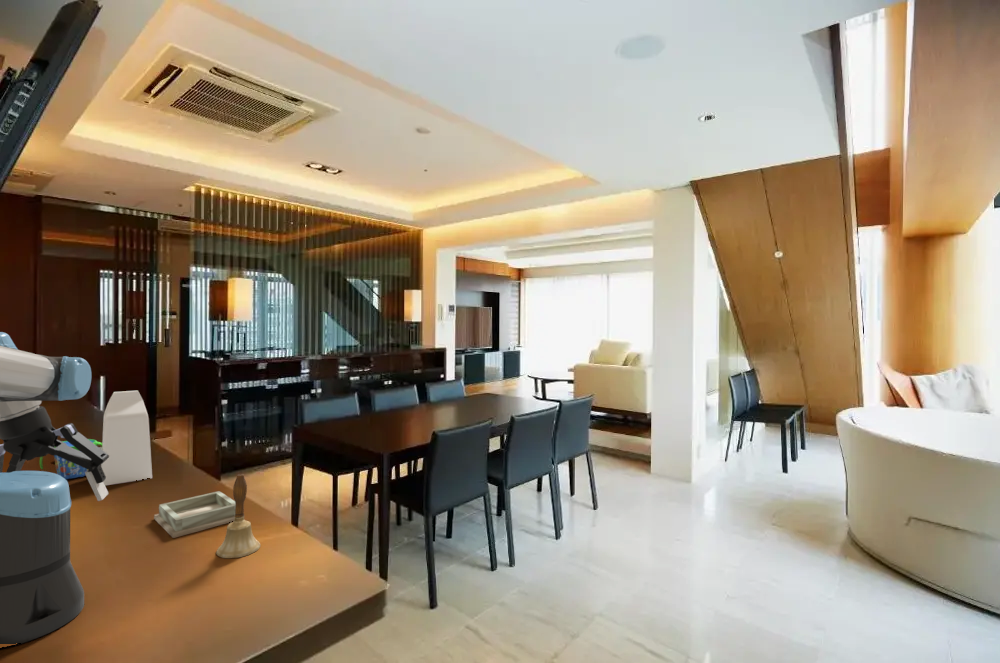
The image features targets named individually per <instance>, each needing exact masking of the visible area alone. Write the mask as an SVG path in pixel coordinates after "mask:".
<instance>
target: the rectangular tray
mask: <svg viewBox="0 0 1000 663" xmlns="http://www.w3.org/2000/svg"><path fill="white" fill-rule="evenodd" d="M235 509H236V504H235V500H234V499H232V498H231V497H230V496H228V495H226V494H225V493H223V492H222V491H220V490H218V491H213V492H209V493H204V494H201V495H195V496H192V497H191V496H190V497H186V498H183V499H178V500H174V501H170V502H164V503H161V504H158V513H155V514H154V515H153V520H155V521H156V522H157V524H158V525H160V526H161V528H162V529H164V530H165V531H166V532H167V534H168V535H169V536H170V537H171V538H173V539H174V538H179V537H181V536H185V535H189V534H190V535H191V534H193V533H196V532H200V531H203V530H208V529H211V528H214V527H217V526H222V525H226V524H230V523H232V521H233V522H234V520H235ZM229 522H230V523H229Z"/></svg>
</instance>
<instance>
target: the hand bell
mask: <svg viewBox="0 0 1000 663" xmlns="http://www.w3.org/2000/svg"><path fill="white" fill-rule="evenodd" d="M232 488H233V489H232V491H233V492H232V493H233V500H234V501H235V504H236V509H235V520H234V521H233V522H230V523H228V525H227V528H226V533H225V537H224V540H223V541H222V543H221V545H220V546H218V548H217V550H216V556H218V557H220V558H222V559H236V558H242V557H243V558H244V557H246V556H249V555H251V554H254V553H255V552H257V551H258V550H259V549H260V548H261V543H260V541H259V540H257V539H256V537H255V536H254V534H253V531H252V524H251V521H248V520H246V519H245V509H244V508H245V500H246V497H247V492H248V483H247V481H246V478H245V474H244V473H238V474H237V475H236V478H235V481H234V484H233V486H232Z"/></svg>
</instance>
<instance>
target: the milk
mask: <svg viewBox="0 0 1000 663" xmlns="http://www.w3.org/2000/svg"><path fill="white" fill-rule="evenodd" d="M102 422H103V426H102V442H101V443H102V446H101V447H102V450H103V451H104V452H105V453H107V454H108V455H109V458H108V459H107V460H106V461H104V462H103V463H102V464H101V467H102V470H103V472H104V474H105V476H106V479H105V480H104V481H103V483H104V485H105V486H110V485H118V484H124V483H131V482H136V480H137V481H142V479H144V480H148V479H147V478H150V479H153V469H152V468H153V467H152V450H151V449H152V448H151V437H150V435H151V433H150V418H149V414H148V410H147V408H146V405H145V402H144V399H143V397H142V395H141V394H140V392H139V390H126V391H113V393H112V394H111V396H110V398H109V400H108V402H107V405H106V407H105V410H104V412H103V420H102Z"/></svg>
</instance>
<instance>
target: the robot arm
mask: <svg viewBox="0 0 1000 663" xmlns="http://www.w3.org/2000/svg"><path fill="white" fill-rule="evenodd" d="M91 383H92V368H91V365H90V364H89V362H88V361H87V360H86V359H84V358H82V357H79V356H78V357H77V356H73V357H71V356H70V357H69V356H67V355H65V356H47V355H43V354H37V353H36V354H35V353H33V352H30V351H29V352H28V351H25V350H20V349H18V347H17V346H16V344H15V343H14V341H13V339H12V338H11V335H9V334H8V333H6V332H3V331H0V440H2V442H3V443H2V444H0V644H16V643H17V644H18V643H21V644H24V643H28V642H30V641H34V640H35V639H38V638H40V637H41V638H42V637H43V636H45V635H48V634H50V633H52V632H54V631H56V630H58V629H60V628H61V627H63V626H64V625H67V624H68V623H69V622H71V621H73V620H74V619H75V618H76V617H77V616H78V615H79V614H80V613H81V612H82V610H83V609H84V607H85V590H84V588H83V586H82V584H81V582H80V579H79V577H78V575H77V573H76V571H75V569H74V567H73V564H72V561H71V507H72V499H71V494H70V487H69V481H68V479H65V478H63V477H61V476H60V475H58V474H57V473H55V472H50V471H44V470H41V471H40V470H22V468H23V466H24V464H25V462H26V461H27V462H28V461H31V460H33V459H35V458H40V457H43V458H44V457H46V456H48V455H51V456H54V455H56V456H59V457H61V458H63V459H66V460H68V461H70V462H73V463H75V464H77V465H79V466H82V467H84V468H86V469H88V470H87V471H86V472H85V475H86V478H87V481H88V483H89V485H90V487H91V489H92V492H93V493H94V496H95V498H96V500H97V502H101V501H103V500H104V499H105V498H106V497H107V496H108V495H109V491H108V489H107V487H106V485H104V483H103V481H104V480H105V479H106V476H105V474H104V472H103V470H102V467H101V464H102V463H103V462H104V461H106V460H107V459H108V458H109V455H108V454H107V453H105V452H104V451H103V450H101V449H100V448H99V446H98V445H97V446H96V445H95V444H94V443H92V442H91V441H90V440H88V439H89V438H87V437H86V436H84V435H83V434H82V433H81V432H79V431H78V429H77V428H76V426H75V425H74V423H72V422H69V423H67V424H65V425H64V426H62V427H60V428H57V429H56V428H55V427H54V426H53V425H52V420H51V417H50V415H49V414H48V411H47V409H46V407H45V406H43V405H41V404H42V402H43V401H45V402H46V401H53V402H54V401H60V402H61V401H66V400H67V401H69V400H79V399H81V398H83V397H84V396H86V395H87V393H88V391H89V390H90V387H91ZM59 437H60V439H65V441H68V442H69V443H70V444H72V445H73V446H74V447H76V448H77V449H78V450H80V451H81V452H80V451H78V450H76V449H74V448H71V447H69V446H67V445H66V443H64V442H62V441H63V440H60V439H58V438H59ZM54 447H56V448H54ZM6 452H7V453H9V454H11V455H12V456H11V458H10V460H9V462H8V467H7V470H6V472H3V468H4V461H5V460H4V459H5V454H6ZM18 645H19V644H18Z"/></svg>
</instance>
